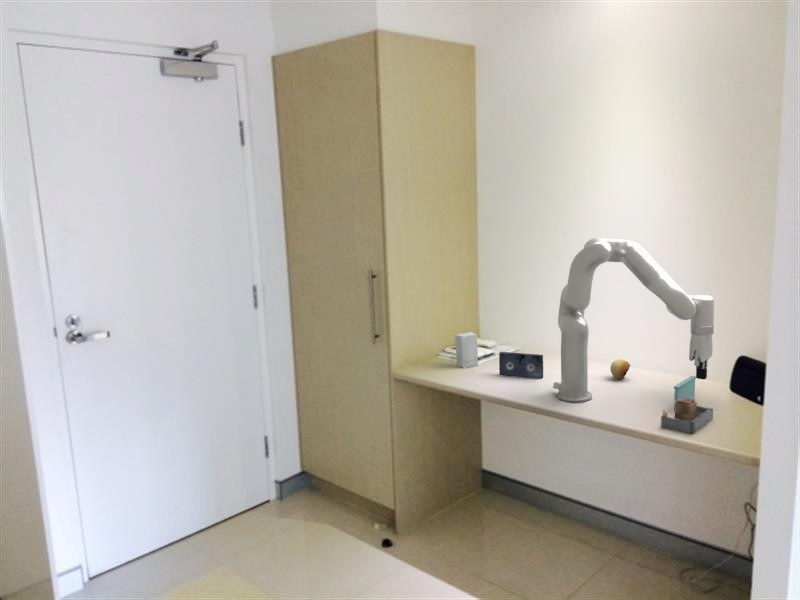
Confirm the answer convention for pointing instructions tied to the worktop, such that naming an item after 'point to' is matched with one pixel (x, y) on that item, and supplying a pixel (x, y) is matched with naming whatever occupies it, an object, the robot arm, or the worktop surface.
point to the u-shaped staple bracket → (692, 426)
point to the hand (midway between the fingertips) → (701, 378)
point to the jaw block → (685, 409)
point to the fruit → (619, 368)
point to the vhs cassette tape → (521, 365)
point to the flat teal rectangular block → (685, 389)
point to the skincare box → (466, 349)
